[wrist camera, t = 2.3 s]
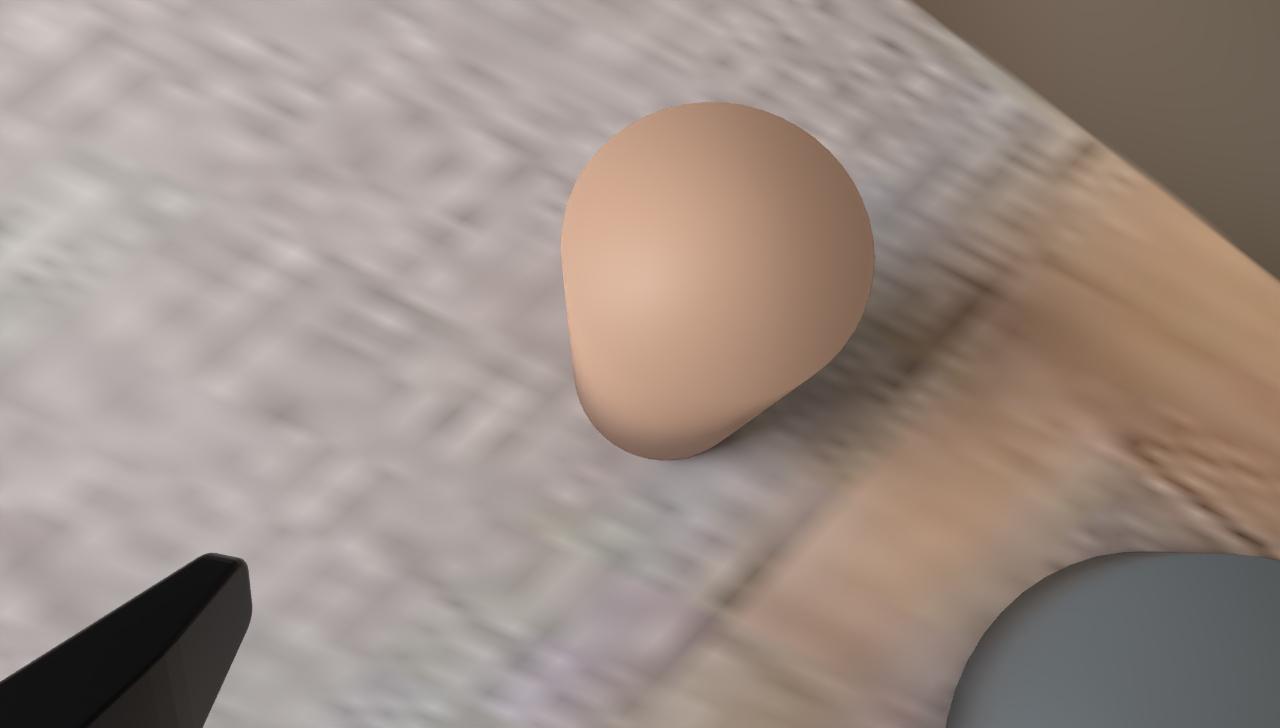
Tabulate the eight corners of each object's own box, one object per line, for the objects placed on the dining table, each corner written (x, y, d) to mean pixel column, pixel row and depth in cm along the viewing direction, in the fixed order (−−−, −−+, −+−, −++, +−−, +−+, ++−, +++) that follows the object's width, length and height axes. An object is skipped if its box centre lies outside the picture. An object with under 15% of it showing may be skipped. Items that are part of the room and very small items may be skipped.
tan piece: (764, 452, 23) (896, 390, 13) (581, 467, 22) (572, 415, 12) (744, 277, 24) (851, 94, 14) (567, 288, 23) (550, 110, 13)
